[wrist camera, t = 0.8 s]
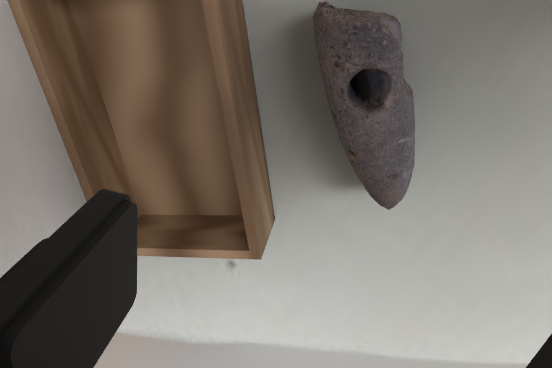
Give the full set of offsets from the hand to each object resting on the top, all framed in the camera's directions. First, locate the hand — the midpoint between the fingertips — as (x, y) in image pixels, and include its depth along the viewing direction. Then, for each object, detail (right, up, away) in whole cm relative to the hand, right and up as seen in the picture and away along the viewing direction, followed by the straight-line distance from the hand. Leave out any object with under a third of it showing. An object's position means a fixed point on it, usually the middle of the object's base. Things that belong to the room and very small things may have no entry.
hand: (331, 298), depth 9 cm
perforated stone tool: (+6, +9, +22) cm, 24 cm away
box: (-9, +9, +25) cm, 28 cm away
